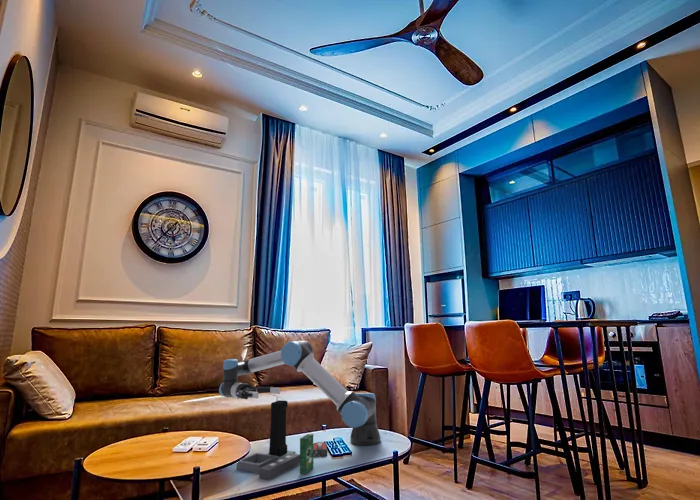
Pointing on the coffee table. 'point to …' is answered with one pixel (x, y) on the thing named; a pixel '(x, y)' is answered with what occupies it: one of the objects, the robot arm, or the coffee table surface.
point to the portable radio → (278, 428)
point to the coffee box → (306, 453)
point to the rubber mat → (285, 454)
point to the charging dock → (268, 464)
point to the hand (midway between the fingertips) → (268, 393)
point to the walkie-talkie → (319, 449)
